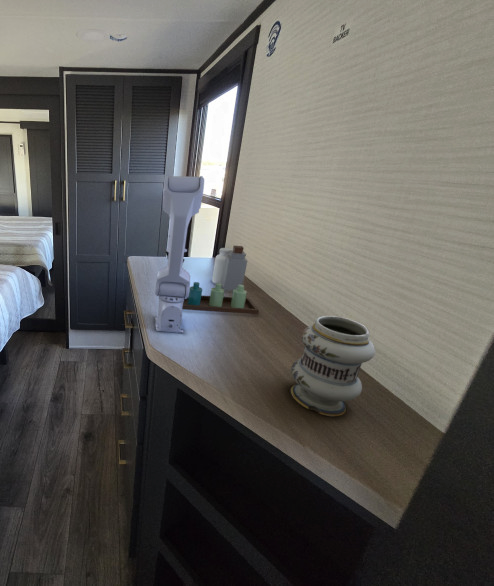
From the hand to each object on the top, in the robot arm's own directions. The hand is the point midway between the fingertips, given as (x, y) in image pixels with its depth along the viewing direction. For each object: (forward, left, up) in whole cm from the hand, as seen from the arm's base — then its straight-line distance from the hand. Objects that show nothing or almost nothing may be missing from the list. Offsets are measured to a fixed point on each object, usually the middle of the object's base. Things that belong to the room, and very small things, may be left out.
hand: (172, 274), depth 113 cm
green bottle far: (-4, -23, -10) cm, 25 cm away
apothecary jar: (-51, -27, -11) cm, 59 cm away
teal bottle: (-4, -8, -10) cm, 13 cm away
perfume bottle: (+16, -26, -11) cm, 32 cm away
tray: (-4, -16, -10) cm, 19 cm away
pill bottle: (+24, -24, -11) cm, 36 cm away
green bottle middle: (-4, -16, -10) cm, 19 cm away
